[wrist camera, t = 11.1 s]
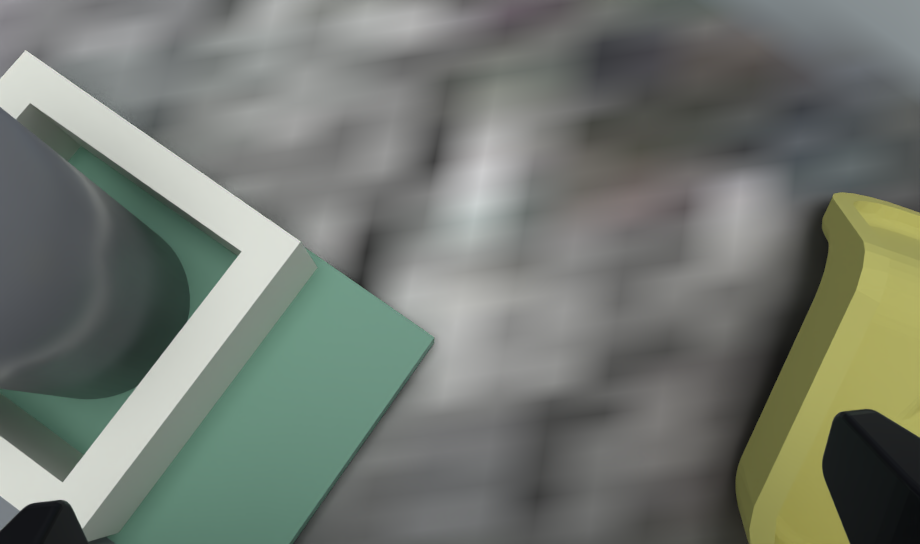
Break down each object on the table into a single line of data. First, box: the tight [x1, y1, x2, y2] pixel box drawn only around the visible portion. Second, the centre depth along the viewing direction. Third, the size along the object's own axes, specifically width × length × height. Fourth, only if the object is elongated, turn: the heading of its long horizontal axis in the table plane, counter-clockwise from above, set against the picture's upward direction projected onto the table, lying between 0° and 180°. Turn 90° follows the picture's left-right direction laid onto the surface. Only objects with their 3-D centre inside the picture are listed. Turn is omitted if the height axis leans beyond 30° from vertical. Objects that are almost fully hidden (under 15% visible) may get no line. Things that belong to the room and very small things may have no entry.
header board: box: [0, 50, 434, 544], centre depth 21 cm, size 16×14×4 cm
